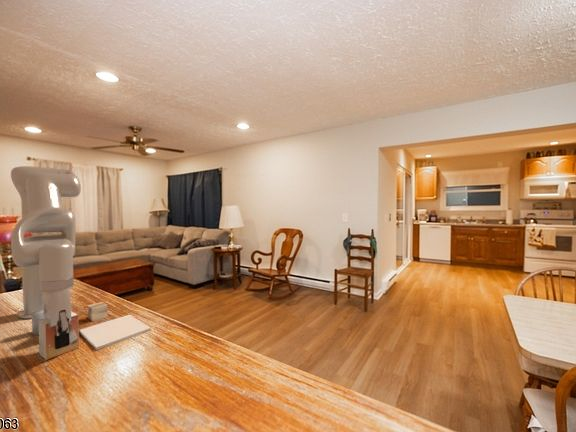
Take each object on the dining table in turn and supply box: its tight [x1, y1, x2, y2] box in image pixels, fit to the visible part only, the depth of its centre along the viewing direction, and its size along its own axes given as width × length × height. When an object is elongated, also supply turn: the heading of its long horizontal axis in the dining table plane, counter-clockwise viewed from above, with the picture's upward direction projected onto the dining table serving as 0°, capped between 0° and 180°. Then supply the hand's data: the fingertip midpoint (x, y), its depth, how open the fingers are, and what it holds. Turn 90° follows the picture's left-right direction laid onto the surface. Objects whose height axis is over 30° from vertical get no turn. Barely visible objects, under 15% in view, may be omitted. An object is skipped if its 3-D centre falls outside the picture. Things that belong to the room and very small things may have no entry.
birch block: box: [87, 301, 109, 322], centre depth 102 cm, size 5×5×5 cm
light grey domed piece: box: [31, 310, 44, 336], centre depth 90 cm, size 4×4×7 cm
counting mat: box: [79, 314, 152, 351], centre depth 91 cm, size 18×16×1 cm
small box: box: [38, 310, 80, 361], centre depth 78 cm, size 8×6×10 cm
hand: (59, 342), depth 78 cm, fingers closed on small box, 6 cm apart
